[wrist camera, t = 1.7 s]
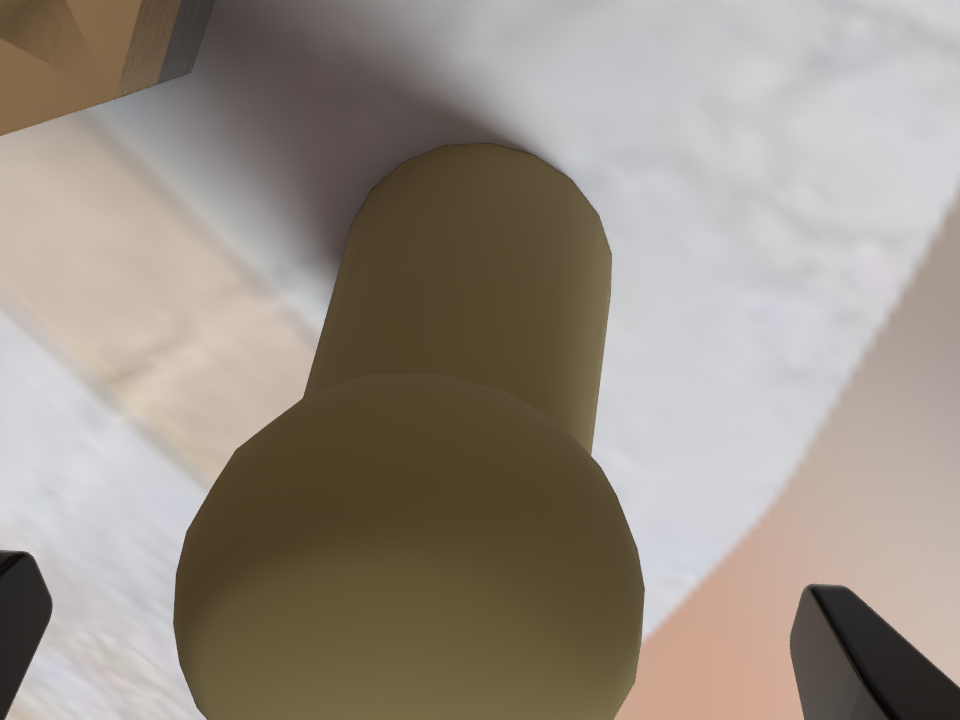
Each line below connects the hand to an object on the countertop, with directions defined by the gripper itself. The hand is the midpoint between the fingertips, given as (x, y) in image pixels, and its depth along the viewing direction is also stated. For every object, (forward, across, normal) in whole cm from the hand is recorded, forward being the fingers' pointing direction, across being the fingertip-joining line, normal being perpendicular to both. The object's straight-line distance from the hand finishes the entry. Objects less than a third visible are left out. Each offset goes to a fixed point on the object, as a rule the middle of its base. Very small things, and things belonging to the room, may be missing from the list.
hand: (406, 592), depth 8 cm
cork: (+9, 0, 0) cm, 9 cm away
